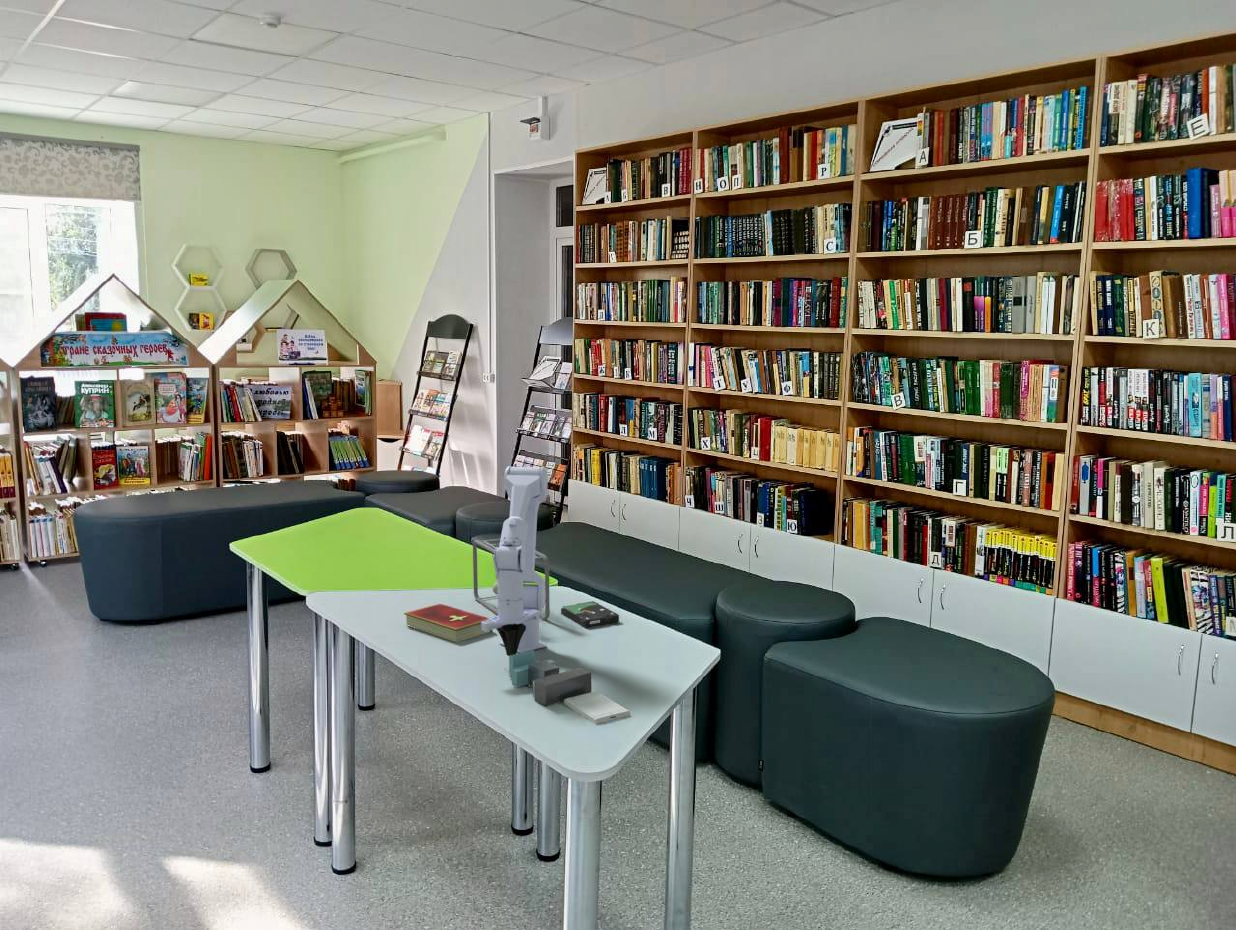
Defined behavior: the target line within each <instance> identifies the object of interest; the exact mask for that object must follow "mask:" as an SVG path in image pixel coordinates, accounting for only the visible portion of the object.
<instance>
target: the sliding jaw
mask: <svg viewBox="0 0 1236 930" xmlns="http://www.w3.org/2000/svg"><path fill="white" fill-rule="evenodd" d="M543 660H544V659H543ZM544 661H547V662H549V663H551V664H553V665H555V660H552V659H550V658H548V659H545V660H544ZM534 662H536V651H535V650H530V651H526V652H522V653H519V652H517V654H514V655H510V656H508V667H509V668H508V669H509V672H508V673H509V675H508V676H509V678H510V679H511V686H514V687H516V688H519V687H523V686H526V685H528V664H530V663H534Z"/></svg>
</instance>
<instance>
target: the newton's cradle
mask: <svg viewBox="0 0 1236 930" xmlns="http://www.w3.org/2000/svg"><path fill="white" fill-rule="evenodd" d="M500 539H501V538H493V539H486V540H485V539H484V540H478V539H474V541H473V542H472V568H473V569H472V570H473V571H472V573H473V575H472V576H473V578H472V579H473V596H474V599H475V600H476V601H477V602H478V603H479V604H481V605H482V606H484V607H485V608H487V610H488V611H491V612H492V613H493V614H495V615H496V616H498V609H496V608H495V607H493V606H492V605H491V604H489V603H488V602H486V601H485V599H486V600H487V599H494V598H498V581H496V582H495V583H494V584H493V586H492V592H493V593H494V594H495V595H494V596H486V597H480V596H479V593H478V592H479V591H478V590H479V589H478V588H479V587H478V548H477V547H478V546H480V547H481V548H483V549H485V550H486V551H488V552H490V553H491V556H494V552H495V549H496V548H498V546H494V545H495V543H492V544H491V543H489V542H494V541H496V542H497V541H500ZM492 559H493V560H492V561H494V557H492ZM536 559H537V560H538V559H542V560H543V562H544V581H545V592H546V598H545V606H544V609H545V610H544V611H545V612H544V614H543V613H542V612H540V619H539V621H540V620H543V621H547V620H549V618H550V562H549V558H548V556H547V555H546V554H544V553H542V552H541V551H540V552H539V551H538V550H537V549H535V560H536Z"/></svg>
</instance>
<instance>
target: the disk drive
mask: <svg viewBox="0 0 1236 930" xmlns="http://www.w3.org/2000/svg"><path fill="white" fill-rule="evenodd" d="M560 614H561V615H563V616H564V617H565V618H567V619H569V620H570V619H571V621H572V622H574V623H575V624H576V625H579V626H580V627H582V628H583V629H588V628H589V629H591V628H596V627H597V628H598V627H601V626H607V624H609V625H614V624H613V623H615V624H619V623H620V614H618V613H616V612H615V611H613V610H611V609H609V608H607V607H606V606H603V605H602V604H599V603H598V602H596V601H587V602H579V603H576V604H572V605H566V606H565V605H563V606H562V607H561V608H560ZM618 622H619V623H618Z"/></svg>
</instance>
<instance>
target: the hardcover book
mask: <svg viewBox="0 0 1236 930" xmlns="http://www.w3.org/2000/svg"><path fill="white" fill-rule="evenodd" d="M403 615H405V616H406V618H405V619H406V626H407V625H410V626H412V627H415V628H417V629H416V630H418V629H420V630H419V631H421V630H422V632H424V631H425V632H424V633H427V632H428V634H430V633H431V635H434V636H435V637H436V636H437V637H438V638H443V639H445V640H449V641H452V642H454V643H459V642H462V641H465V640H469V639H472V638H475V637H478V636H481V635H485V634H488V633H493V630H494V629H492V630H490V631H489V632H485V631H483V630H481V622H482V621H486V620H489V619H491V618H490V617H486V616H484V615H480V614H478V613H477V614H476V613H473V612H469V611H467V610H463V609H460V608H456V607H453V606H449V605H447V604H443V603H436V604H433V605H427V606H425V607H422V608H417V609H414V610H410V611H407V612H406V611H405V612H404V613H403ZM412 627H411V628H412ZM415 628H414V629H415Z"/></svg>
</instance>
